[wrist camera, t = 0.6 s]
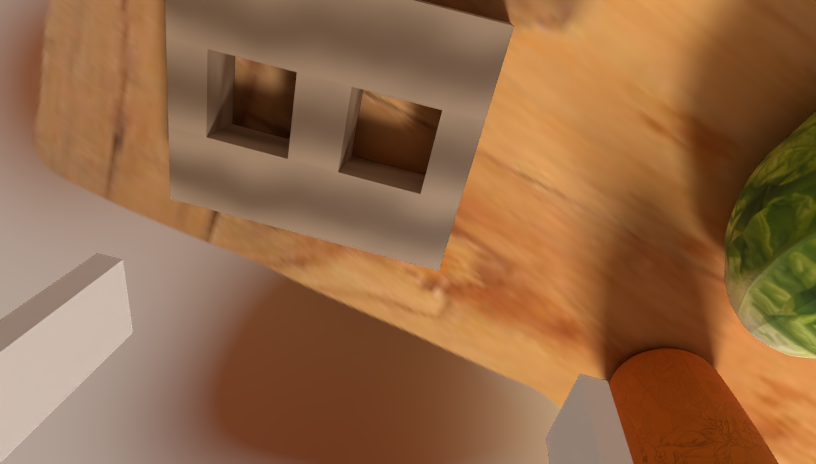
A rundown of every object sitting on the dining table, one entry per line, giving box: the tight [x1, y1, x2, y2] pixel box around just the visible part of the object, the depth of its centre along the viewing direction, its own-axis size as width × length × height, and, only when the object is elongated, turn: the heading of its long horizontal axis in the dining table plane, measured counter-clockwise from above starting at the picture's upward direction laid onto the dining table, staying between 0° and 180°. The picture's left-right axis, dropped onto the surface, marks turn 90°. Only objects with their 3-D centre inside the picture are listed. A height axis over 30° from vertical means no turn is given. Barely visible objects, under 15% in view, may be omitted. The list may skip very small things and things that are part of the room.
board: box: [165, 0, 514, 271], centre depth 34 cm, size 18×22×4 cm
